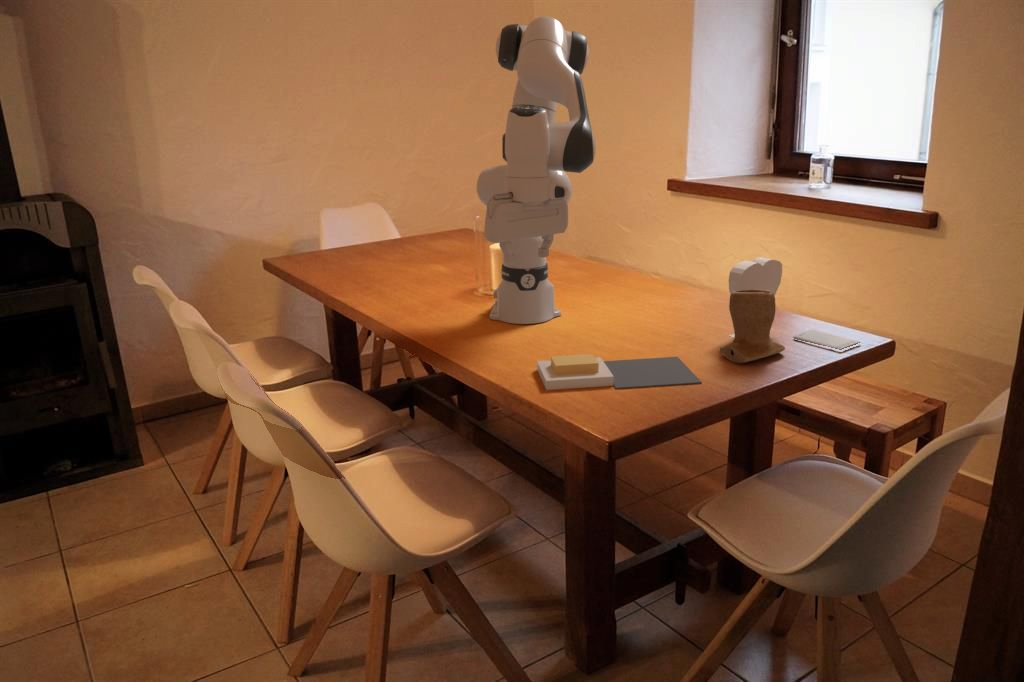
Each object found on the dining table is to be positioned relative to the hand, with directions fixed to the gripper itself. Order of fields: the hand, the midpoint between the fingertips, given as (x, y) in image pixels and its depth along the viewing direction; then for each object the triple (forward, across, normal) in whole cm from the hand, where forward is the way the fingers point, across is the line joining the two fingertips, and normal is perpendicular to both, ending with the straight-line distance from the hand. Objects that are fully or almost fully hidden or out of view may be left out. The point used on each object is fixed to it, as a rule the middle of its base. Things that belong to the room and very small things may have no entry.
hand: (526, 259), depth 170 cm
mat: (+25, +20, -16) cm, 36 cm away
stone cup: (+24, +45, -25) cm, 57 cm away
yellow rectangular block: (+23, +7, -7) cm, 25 cm away
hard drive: (+24, +65, -33) cm, 77 cm away
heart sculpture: (+24, +59, -17) cm, 66 cm away
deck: (+25, +7, -7) cm, 27 cm away
